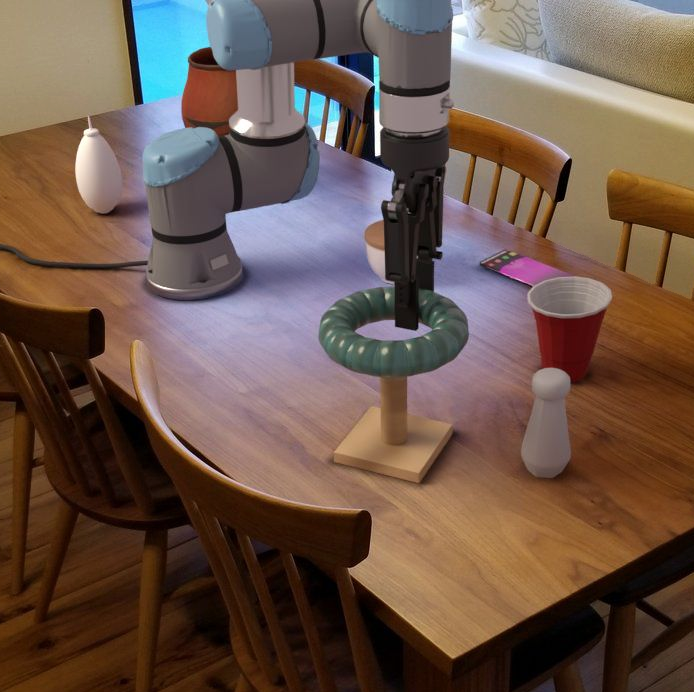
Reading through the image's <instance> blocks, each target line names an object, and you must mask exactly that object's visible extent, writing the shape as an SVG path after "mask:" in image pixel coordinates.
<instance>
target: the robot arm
mask: <svg viewBox="0 0 694 692" xmlns="http://www.w3.org/2000/svg"><path fill="white" fill-rule="evenodd" d="M204 1H205V2H206V4H207V5H208V7H207V10H206V16H205V17H206V18H205V19H206V21H205V22H206V23H205V24H206V33H207V40H208V43H209V47H211V48H212V51H213V56H214V58H215V60H216V62H217V63H218V64H219V65H220V66H221V67H222V68H224V69H226V70H236V78H237V96H238V110H237V111H236V112H235V113H234V114H233V115H232V116H231V117H230V119H229V135H225V136H220V137H218V135H217V134H216V132H215V131H214V130H212V129H210V128H206V127H197V128H193V127H189V128H185V127H183V128H178V129H174V130H170V131H168V132H166V133H163V134H161V135H159V136H157V137H155V138H154V139H153V140H151V141H150V142H149V143H148V144H147V145H146V146H145V148H144V150H143V152H142V157H141V158H142V181H143V183H144V186H145V193H146V200H147V207H148V214H149V222H150V228H151V235H152V239H151V245H150V249H149V255H148V260H138V261H137V260H135V261H126V262H117V263H115V262H114V263H86V262H85V263H84V262H66V261H48V260H41V259H35V258H31V257H28V256H26V255H24V254H23V253H22V252H21V251H20V250H18V248H15V247H13V246H12V245H8V244H7V245H6V244H1V243H0V250H5V251H9V252H12V253H14V254H15V255H16V256H17V257H18V258H19V259H21V260H22V261H24V262H26V263H29V264H33V265H37V266H45V267H56V268H57V267H58V268H75V269H76V268H77V269H123V268H130V267H143V266H146V270H145V276H146V283H147V287H148V289H149V290H150V291H151V292H152V293H153V294H156V295H158V296H160V297H163V298H167V299H172V300H181V301H184V300H185V301H193V300H194V301H195V300H203V299H208V298H212V297H216V296H220V295H223V294H225V293H227V292H229V291H232V290H233V289H234V288H235V287H237V286H238V285H239V284H241V281H242V280H243V277H244V273H243V263H242V260H241V257H239V255H238V253H237V251H236V248H235V245H234V243H233V241H232V239H231V237H230V234H229V232H228V228H227V214H230V213H235V212H241V211H247V210H253V209H259V208H261V207H262V208H263V207H268V206H273V205H279V204H281V205H284V204H289V203H290V202H292V201H296V200H300V199H304V198H306V197H307V196H309V194H311V193H312V192H313V190H314V189H315V187H316V185H317V182H318V179H319V174H320V166H321V165H320V159H321V158H320V150H319V149H318V145H319V143H318V138H317V135H316V133H315V131H314V129H313V128H312V127H311V126H310V125H309V124H308V123H306V120H305V116H304V115H303V114H302V113H301V112H300V111H298V110H297V109H296V102H295V101H296V99H295V98H296V95H295V93H296V92H295V63H300V62H306V61H312V60H320V59H328V58H329V59H330V58H336V57H342V56H348V55H354V54H355V55H357V54H363V53H369V54H371V55H372V56H374V57H376V58H378V76H379V77H378V78H379V81H378V85H379V86H378V109H379V110H378V121H379V125H380V126H381V127H382V128H381V129H380V131H379V150H380V151H379V155H380V156H379V157H380V161H381V163H382V164H383V165H384V166H385V167H387V168H389V169H390V170H392V173H393V180H392V183H391V196H392V197H391V199H390V200H387V199H383V200H382V201H381V204H380V211H381V216H382V220H384V248H385V279H386V280H387V281H393V282H394V284H393V285H394V286H395V320H394V328H399V329H404V330H409V331H414V332H417V331H418V330H419V327H420V326H419V325H420V323H419V288H420V289H425V290H430V291H433V292H435V260H440V261H441V260H442V258H443V251H440V250H437V248H438V249H439V248H441V247H442V245H443V224H444V223H443V222H444V189H445V187H444V185H445V179H446V178H445V177H446V172H447V167H446V164H447V163H448V161H449V159H450V135H451V134H450V131H451V130H450V129H449V128H448V126H447V125H449V123H450V109H453V108H454V106H455V102H454V100H453V99H452V98H450V95H451V74H452V73H451V70H452V69H451V68H452V39H453V21H454V9H453V6H452V0H204ZM417 256H418V258H417Z"/></svg>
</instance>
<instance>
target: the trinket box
mask: <svg viewBox="0 0 694 692" xmlns="http://www.w3.org/2000/svg"><path fill="white" fill-rule="evenodd" d="M364 243H365V254H366V258H367V262H368V264H369V266H370V268H371V269H372V271H373V272H374V274H376V275H377V276H378V277H379V278H380V280H381V281H382V282H384V283H386V284H390V285H395V284H394V282H393V281H387V280H386V279H385V248H384V220H383V219H380V220H378V221H375V222H373V223H371V224H369V225H368V226H367V227H366V228H365V230H364ZM417 258H418V256H417Z"/></svg>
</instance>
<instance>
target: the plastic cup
mask: <svg viewBox="0 0 694 692" xmlns="http://www.w3.org/2000/svg"><path fill="white" fill-rule="evenodd" d="M575 276H576V275H575ZM575 276H574V277H558V278H554V279H549V280H545V281H543V282H541V283H539V284H537V285H535V286H531V288H530V289H529V291H528V292H527V293H526V297H527V298H526V299H527V303H528V305H529V306H530V307H531V309H532V313H533V315H534V320H535V324H536V331H537V339H538V347H539V353H540V358H541V359H540V360H541V367H542V368H541V369H544V368H557V369H560V370H562V371H564V372H566V373H567V374H568V376H569V377H570V384H571V383H576V382H579V381H581V380H583V379H584V378H585V376H586V374H587V372H588V370H589V367H590V364H591V360H592V357H593V355H594V352H595V349H596V345H597V343H598V339H599V338H598V337H599V334H600V330H601V327H602V324H603V320H604V319H605V315H606V312H607V308H608V306H609V305H610V303H611V302H612V299H613V293H612V290H611V288H610V287H608V286H607V285H606V284H605V283H603V282H601V281H598V280H595V279H593V278H590V277H582V276H577V277H575Z"/></svg>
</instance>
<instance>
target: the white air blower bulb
mask: <svg viewBox="0 0 694 692" xmlns="http://www.w3.org/2000/svg"><path fill="white" fill-rule="evenodd" d="M87 120H88V127H89V128H87V129H85V130H84V131H83V136H82V138H81V140H80V143H79V145H78V148H77V151H76V157H75V166H74V168H75V169H74V171H75V172H74V173H75V180H76V181H75V182H76V186H77V190H78V192H79V195H80V197H81V198H82V200H83V202H84V203H85V204H86V206H87V207H88V208H89V209H92V210H93V211H94V212H96V213H99V214H101V215H102V214H108V213H110V212H112V211H113V210H114V209H115V207H116V206H118V204H119V203H120V200H121V197H122V196H121V195H122V192H123V178H122V173H121V168H120V164H119V162H118V160H117V157H116V154H115V153H114V151H113V149H112V147H111V146H110V143H108V141H107V140H106V139H105V138H104V137H103V136H102V135H101V134H100V130H99V129H98V128H93V126H92V122H91V121H92V120H91V116H90V115H87Z"/></svg>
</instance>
